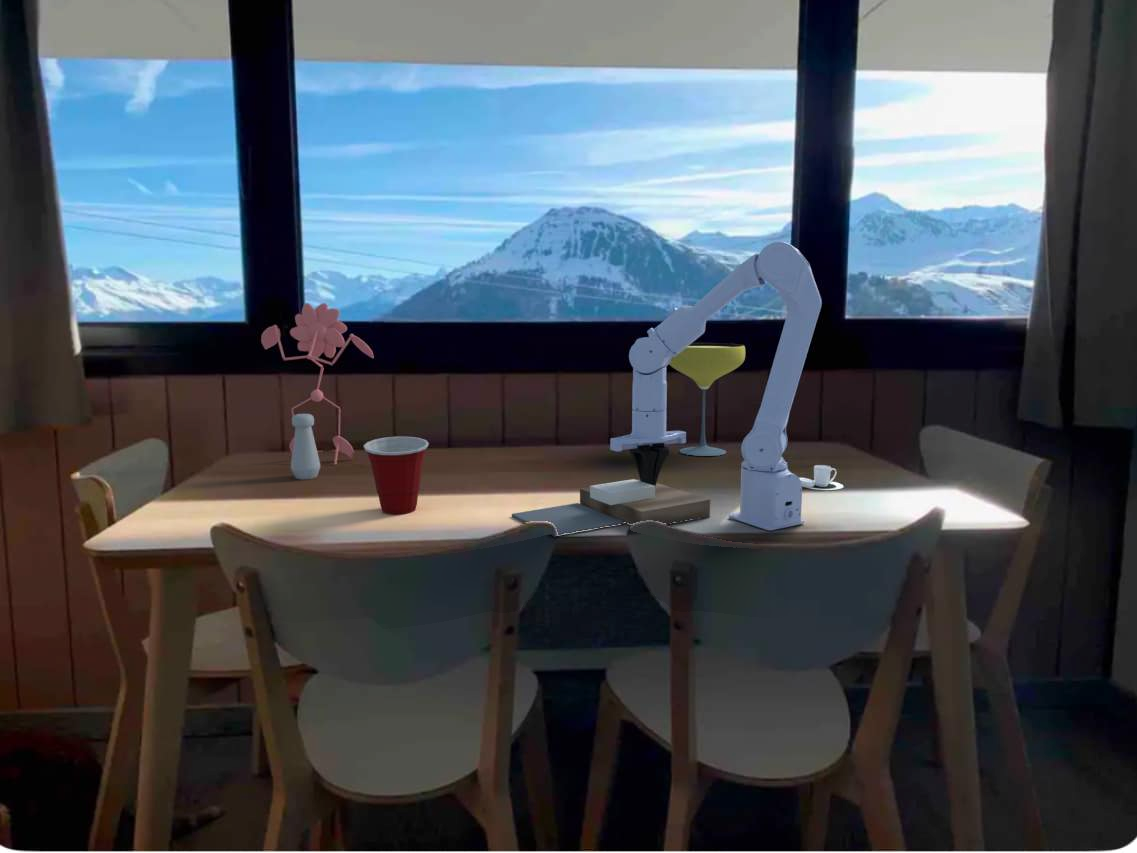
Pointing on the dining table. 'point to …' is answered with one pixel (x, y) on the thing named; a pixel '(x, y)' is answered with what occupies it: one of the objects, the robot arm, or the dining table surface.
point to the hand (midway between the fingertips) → (648, 488)
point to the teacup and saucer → (821, 478)
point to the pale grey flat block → (622, 491)
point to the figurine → (318, 351)
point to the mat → (569, 518)
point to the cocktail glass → (707, 377)
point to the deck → (653, 506)
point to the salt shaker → (304, 448)
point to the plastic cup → (397, 471)
